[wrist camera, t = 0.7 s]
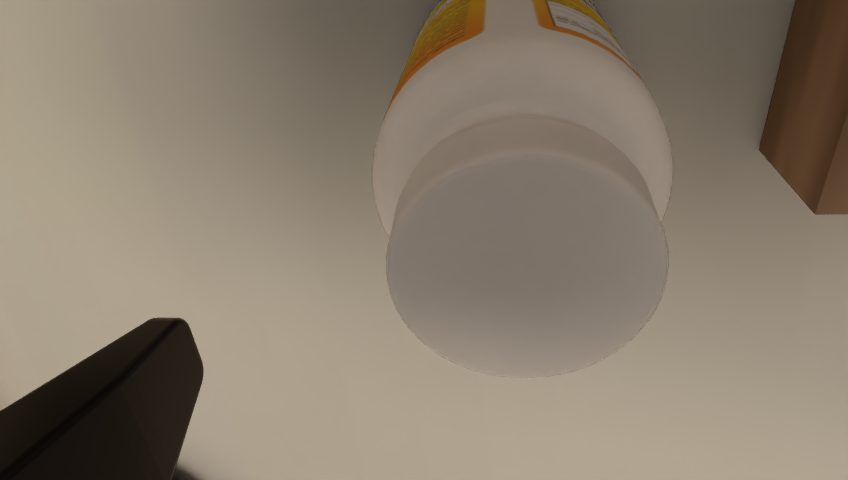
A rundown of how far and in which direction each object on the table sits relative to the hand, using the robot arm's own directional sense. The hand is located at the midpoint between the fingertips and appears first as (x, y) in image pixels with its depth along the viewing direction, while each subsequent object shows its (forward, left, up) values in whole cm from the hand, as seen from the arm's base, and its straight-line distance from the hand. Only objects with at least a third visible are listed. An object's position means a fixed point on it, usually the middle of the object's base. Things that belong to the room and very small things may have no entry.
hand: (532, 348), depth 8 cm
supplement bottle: (0, 0, -11) cm, 11 cm away
